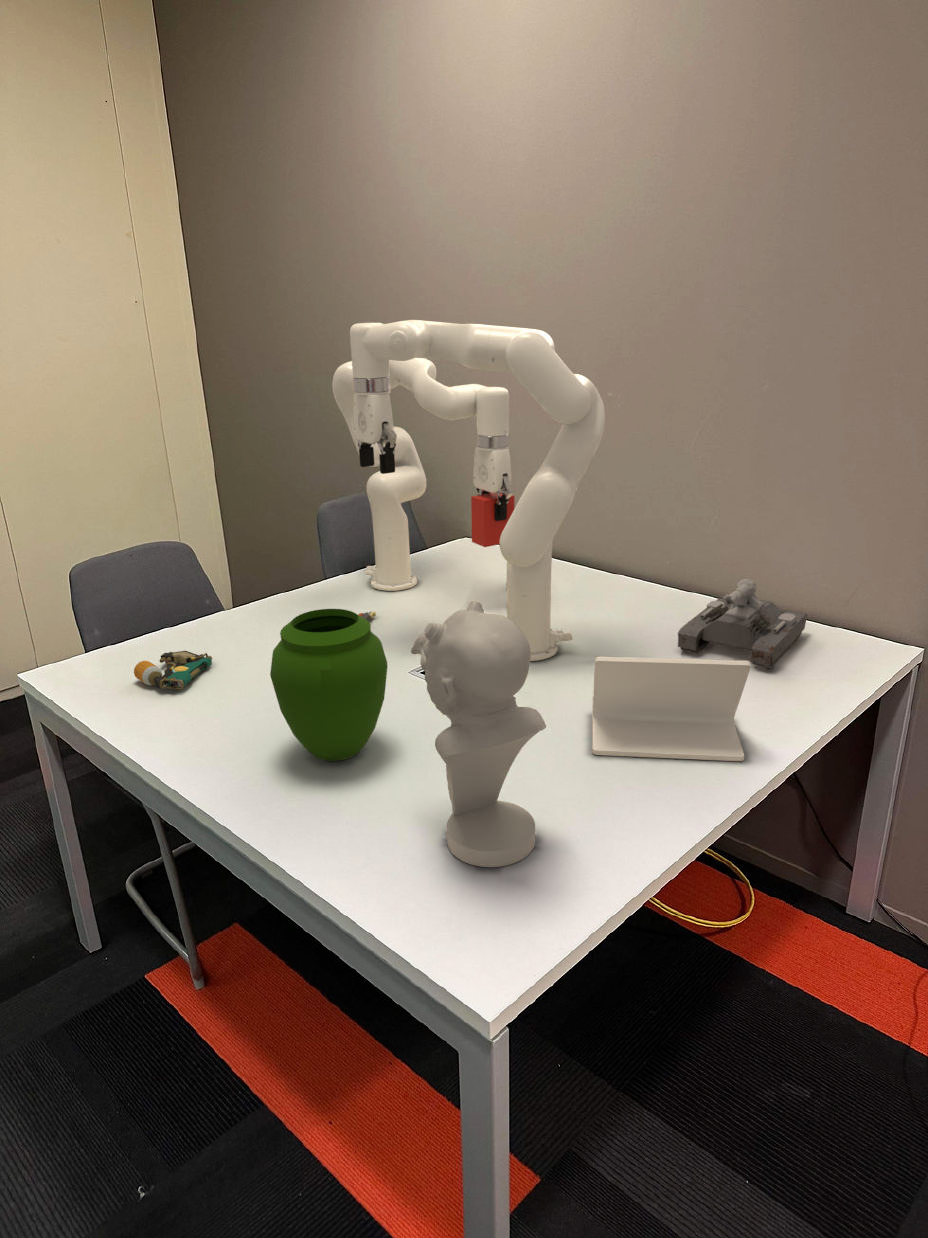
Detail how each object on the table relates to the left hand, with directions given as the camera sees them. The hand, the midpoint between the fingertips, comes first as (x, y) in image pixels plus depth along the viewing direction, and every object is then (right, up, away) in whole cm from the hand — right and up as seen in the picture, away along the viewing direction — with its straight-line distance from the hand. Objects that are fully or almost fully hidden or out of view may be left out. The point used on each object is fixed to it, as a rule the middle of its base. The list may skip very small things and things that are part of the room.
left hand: (493, 516), depth 206 cm
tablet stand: (+28, -45, -54) cm, 76 cm away
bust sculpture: (-6, -56, -81) cm, 99 cm away
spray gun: (-68, -37, -25) cm, 81 cm away
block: (0, -6, +2) cm, 6 cm away
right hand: (-25, +7, -25) cm, 36 cm away
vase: (-29, -48, -57) cm, 80 cm away
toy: (+54, -30, -17) cm, 65 cm away
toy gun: (-35, -27, -3) cm, 45 cm away
